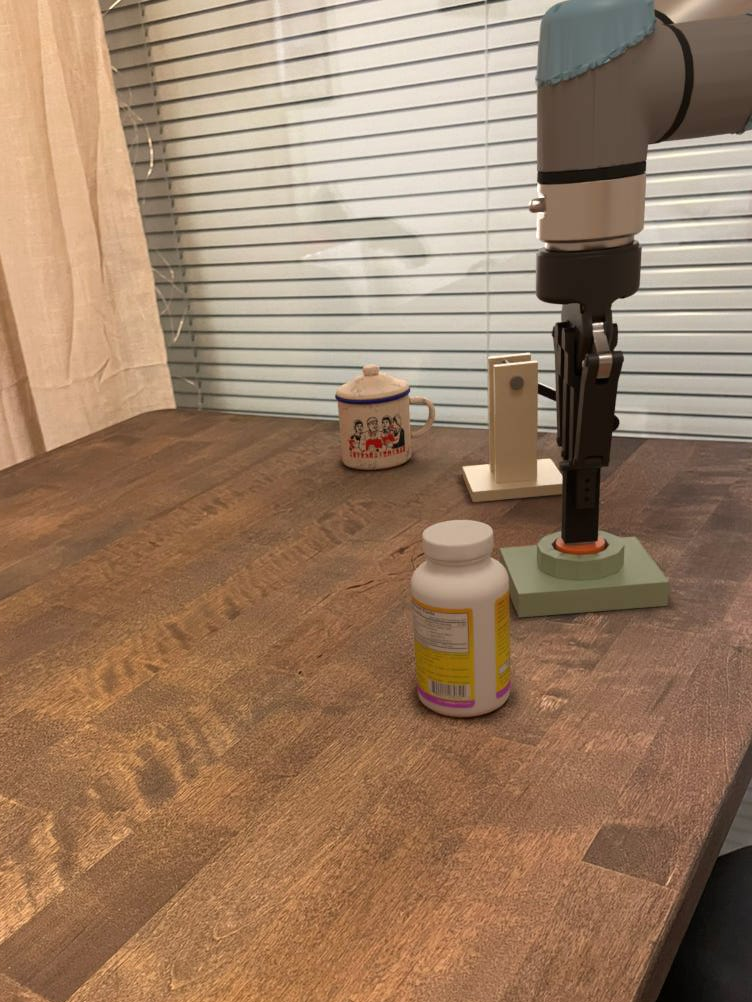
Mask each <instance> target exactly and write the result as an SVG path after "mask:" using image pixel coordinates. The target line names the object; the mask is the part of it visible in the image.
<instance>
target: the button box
mask: <svg viewBox="0 0 752 1002" xmlns="http://www.w3.org/2000/svg"><path fill="white" fill-rule="evenodd" d="M598 536H600V537H602V538H603V539H604V540H605V550H604V551H601V552H599V553H596V554H587V555H573V554H564V553H562V552H559V551H557V550H556V540H557V539H558V538H559V537H561V530H559V531H556V532H553V533H550V534H547V535H544V536H543V537H542V538H541V539H540V540H539V541H538V542H537V543H536V544H532V545H522V546H521V545H520V546H510V547H500V548H499V562H500V563H501V564H502V565H503V566H504V567H505V569H506V571H507V573H508V576H509V598H510V599H511V602H512V604H513V607H514V610H515V612H516V614H517V617H518V618H519V619H520V618H532V617H544V616H557V615H559V616H560V615H570V614H583V613H595V612H607V611H608V612H609V611H620V610H621V611H622V610H632V609H633V610H634V609H646V608H658V607H667V606H669V596H670V595H669V593H670V580H669V579H668V578H667V576H666V574H664V572H663V571H662V569H660V567H659V565H658V564H657V563H656V561H655V560H654V559H653V558H652V557H651V555H650V554H649V552H648V551H647V550H646V548H644V546H643V544H642V543H641V541H639V539H638V538H637V537H636V536H626V537H625V536H624V537H620V536H617V535H615V534H612V533H609V532H606V531H603V530H598Z"/></svg>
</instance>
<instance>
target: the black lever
mask: <svg viewBox="0 0 752 1002" xmlns="http://www.w3.org/2000/svg"><path fill="white" fill-rule="evenodd" d="M507 363H513V362H510V361H508V360H506V359H504V361H503V363H502V364H507ZM538 395H540V396H542V397H544V398H546V399H549V400H552V401H553V402H556V388H553V387H551V386H549V385H547V384H545V383H542V382H540V381H538ZM620 423H621V421H620V418H619V417H618V416H617V414H614V423H613V432H615V431H616V430H617V429H619V427H620Z"/></svg>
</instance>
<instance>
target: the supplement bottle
mask: <svg viewBox="0 0 752 1002" xmlns="http://www.w3.org/2000/svg"><path fill="white" fill-rule="evenodd" d="M421 535H422V536H421V537H422V539H421V540H422V548H421V549H422V552H423V554H424V556H425V558H426V560H425V561H423V562H422V563H420V564H419V565H418V566H417V568H416V569H414V572H413V573H412V576H411V579H410V596H411V597H410V598H411V611H412V626H413V627H412V628H413V629H412V630H413V644H414V645H413V646H414V658H415V659H414V660H415V675H416V689H417V695H418V698H419V700H420V702H421V703H422V704H423V705H424V706H425V707H427V708H428V709H430V710H431V711H433V712H435V713H437V714H440V715H443V716H448V717H455V718H470V717H471V718H472V717H478V716H482V715H486V714H489V713H492V712H494V711H495V710H498V709H499V708H501V707H502V706H503V705H504V704H505V703H506V702H507V701H508V699H509V696H510V694H511V633H510V631H511V626H510V620H511V619H510V594H509V576H508V573H507V571H506V569H505V567H504V566H503V565H502V564H501V563H500V561H498V560H497V559H495V558H493V557H492V556H491V554H492V553H493V549H494V546H495V540H494V530H493V528H492V527H491V525H489V524H487V523H485V522H482V521H478V520H471V519H452V520H446V521H440V522H438V523H434V524H432V525H429V526H428V527H426V528H425V529H424V530H423V532H422V534H421Z"/></svg>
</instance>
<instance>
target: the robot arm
mask: <svg viewBox="0 0 752 1002" xmlns="http://www.w3.org/2000/svg"><path fill="white" fill-rule="evenodd" d="M536 62H537V63H536V74H535V78H534V84H535V86H536V171H537V173H536V183H537V187H536V188H537V190H536V192H537V194H538V197H537V198H533V199H531V200H529V202H528V211H529V212H530V214H537V215H536V239H538V240H539V241H540V242H541V243H544V246H543V247H541V248H539V249H538V252H537V253H535V296H536V298H537V299H538V300H539V301H541V302H542V303H546V304H551V305H561V310H560V311H561V314H560V318H561V319H560V320H561V321H557V322H555V324H554V325H553V327H552V330H551V338H552V342H553V351H554V353H553V354H554V370H555V371H554V375H555V376H554V377H555V379H554V381H555V389H556V401H555V407H556V437H555V438H556V439H555V440H556V445H557V447H558V448H561V450H560V457H561V459H562V461H559V462H558V464H559V465H558V466H559V472H562V476H563V479H562V494H561V527H560V528H561V529H560V531H561V538H562V539H563V541H564V543H565V544H568V543H580V542H592V541H598V531H599V524H600V523H599V520H600V500H601V499H600V497H601V495H600V493H601V471H602V469H601V468H606V467H609V465H610V462H611V447H612V439H613V432H614V431H613V423H614V414H615V413H616V406H617V395H618V387H619V380H620V377H621V374H622V369H623V365H624V361H625V356H624V353H623V350H621V349H620V350H615V349H616V347H617V346H618V341H619V326H618V323H617V322H614V321H613V310H612V307H613V303H614V302H616V301H618V300H624V299H626V298H630V297H632V296H634V295H635V294H637V292H638V291H639V289H640V286H641V270H642V253H643V252H642V250H643V249H642V248H643V245H642V244H640V241H638V240H637V239H635V236H636V235H638V234H640V233H641V232H642V231H643V230H644V229H645V214H646V213H645V209H646V190H647V189H646V188H647V160H648V150H649V145H657V144H660V143H663V142H664V143H665V142H673V141H674V142H675V141H683V140H692V139H700V138H709V137H715V136H723V135H738V136H741V135H742V134H745V133H746V132H747V131H748V132H749V131H752V0H563V1H560V2H557V3H555V4H553V5H552V6H551V7H549V8H548V9H547V10H546V12H545V13H544V14H543V15H542V18H541V21H540V26H539V37H538V42H537V60H536ZM615 415H616V414H615Z"/></svg>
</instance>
